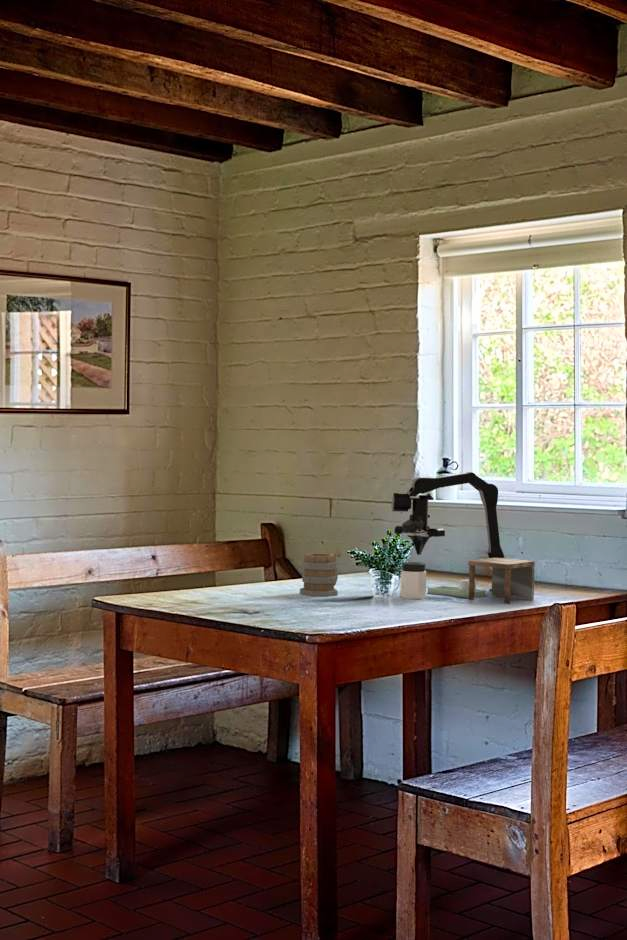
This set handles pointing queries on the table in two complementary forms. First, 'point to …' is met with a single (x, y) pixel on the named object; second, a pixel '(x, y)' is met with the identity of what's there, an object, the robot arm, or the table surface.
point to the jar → (413, 580)
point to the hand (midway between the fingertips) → (418, 554)
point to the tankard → (320, 574)
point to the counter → (506, 578)
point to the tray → (457, 590)
